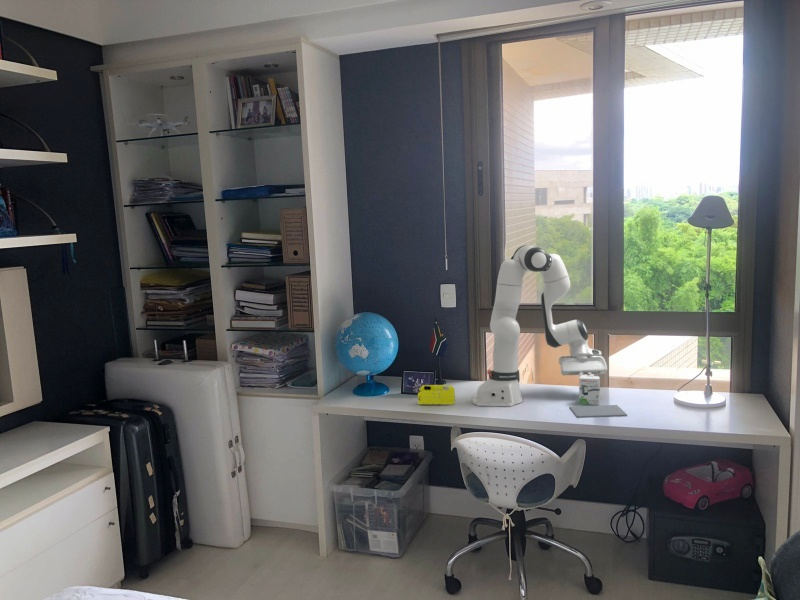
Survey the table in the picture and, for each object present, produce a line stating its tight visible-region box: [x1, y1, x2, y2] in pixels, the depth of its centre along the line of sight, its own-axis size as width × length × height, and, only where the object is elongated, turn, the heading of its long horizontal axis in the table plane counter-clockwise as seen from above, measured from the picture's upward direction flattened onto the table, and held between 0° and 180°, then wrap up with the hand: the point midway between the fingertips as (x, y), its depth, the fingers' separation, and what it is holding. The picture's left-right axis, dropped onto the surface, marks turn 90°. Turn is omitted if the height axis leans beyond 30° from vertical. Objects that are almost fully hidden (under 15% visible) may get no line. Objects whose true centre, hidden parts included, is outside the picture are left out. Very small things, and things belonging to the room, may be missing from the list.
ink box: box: [578, 375, 601, 406], centre depth 279 cm, size 9×5×12 cm, turn 71°
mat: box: [569, 404, 628, 419], centre depth 267 cm, size 20×14×1 cm
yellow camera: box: [417, 384, 456, 406], centre depth 289 cm, size 16×6×8 cm, turn 80°
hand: (586, 381), depth 283 cm, fingers closed
